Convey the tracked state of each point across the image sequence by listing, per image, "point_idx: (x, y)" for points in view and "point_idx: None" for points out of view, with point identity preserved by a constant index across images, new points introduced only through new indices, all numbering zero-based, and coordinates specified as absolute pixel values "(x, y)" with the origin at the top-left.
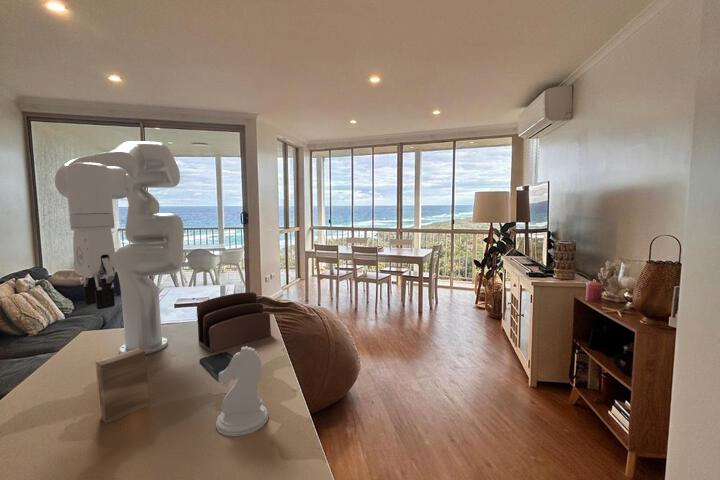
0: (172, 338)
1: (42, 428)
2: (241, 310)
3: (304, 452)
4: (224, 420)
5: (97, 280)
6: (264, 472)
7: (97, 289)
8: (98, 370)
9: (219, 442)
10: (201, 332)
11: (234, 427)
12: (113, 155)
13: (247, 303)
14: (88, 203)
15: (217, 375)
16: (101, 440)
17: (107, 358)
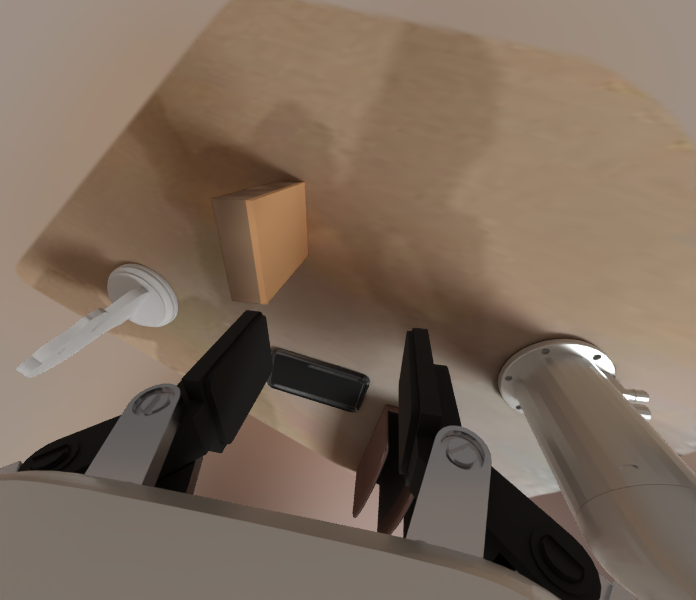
0: None
1: (362, 91)
2: (390, 516)
3: (48, 287)
4: (129, 277)
5: (96, 462)
6: (35, 243)
7: (176, 393)
8: (244, 196)
9: (115, 250)
10: None
11: (112, 275)
12: None
13: None
14: None
15: (283, 355)
16: (228, 152)
17: (252, 230)
